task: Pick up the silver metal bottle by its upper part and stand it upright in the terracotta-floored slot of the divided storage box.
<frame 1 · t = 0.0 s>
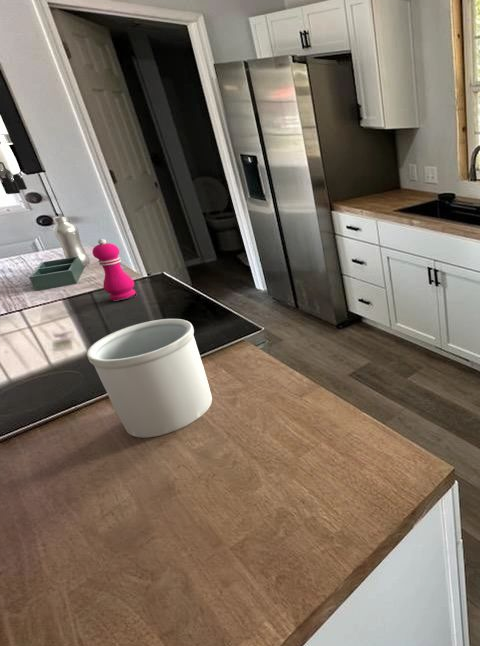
hand: (17, 191, 144), 31 cm above the worktop, tool pointing down, fingers open, 9 cm apart
divided storage box: (61, 279, 150), on the worktop
utensil holder: (172, 414, 82), on the worktop
pepper mill: (124, 298, 134), on the worktop
silver metal bottle: (80, 267, 162), on the worktop
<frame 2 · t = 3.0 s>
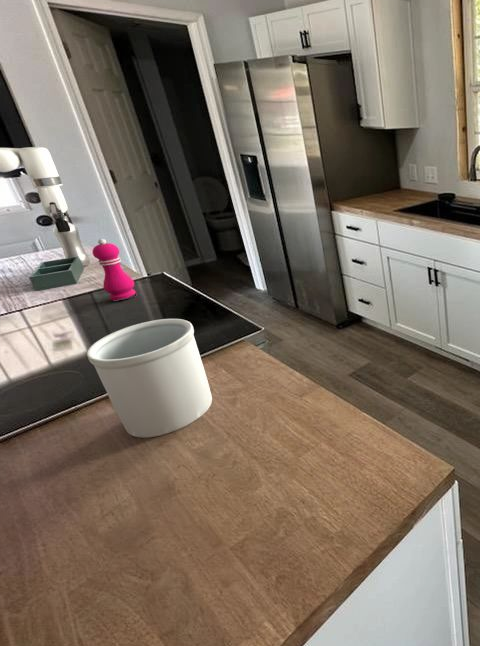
hand: (66, 229, 157), 15 cm above the worktop, tool pointing down, fingers closed on silver metal bottle, 6 cm apart
silver metal bottle: (80, 266, 162), on the worktop, touching gripper
everything else where it was.
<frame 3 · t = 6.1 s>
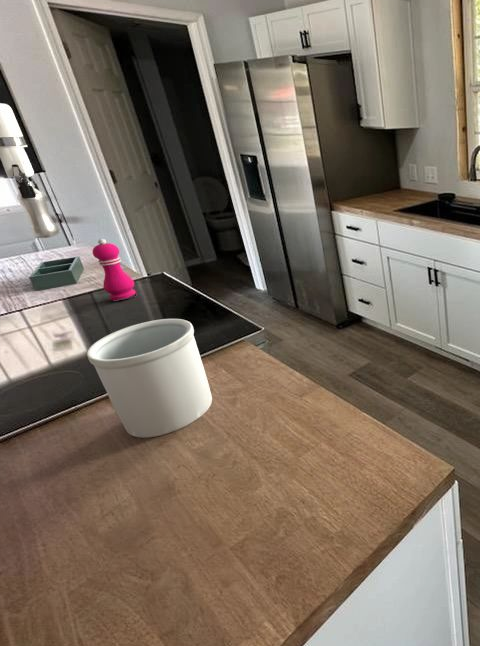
hand: (32, 195, 143), 29 cm above the worktop, tool pointing down, fingers closed on silver metal bottle, 6 cm apart
silver metal bottle: (48, 238, 149), point 14 cm above the worktop, touching gripper
everything else where it was.
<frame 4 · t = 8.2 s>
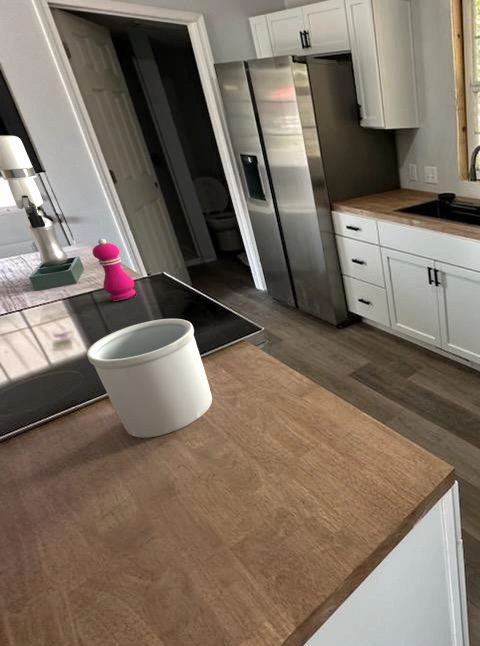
hand: (41, 224, 146), 19 cm above the worktop, tool pointing down, fingers closed on silver metal bottle, 6 cm apart
silver metal bottle: (57, 265, 151), point 4 cm above the worktop, touching gripper
everything else where it was.
when the fingers open (16 cm above the worktop, at t = 9.7 s): silver metal bottle stays where it is, resting on divided storage box.
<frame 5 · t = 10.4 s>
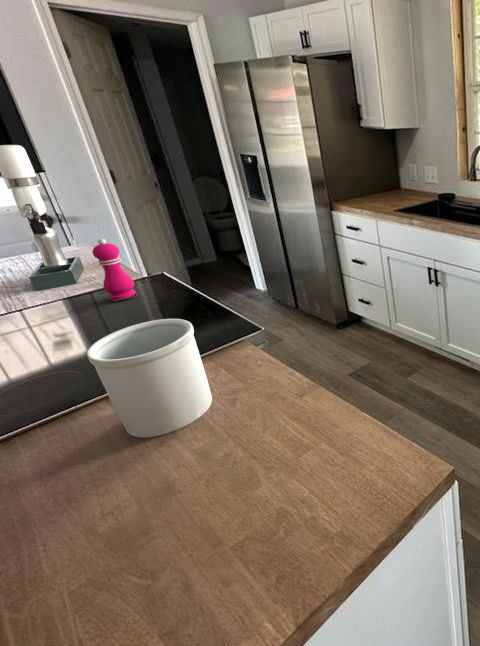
hand: (43, 231, 147), 17 cm above the worktop, tool pointing down, fingers open, 9 cm apart
silver metal bottle: (61, 274, 152), point 1 cm above the worktop, touching divided storage box
everything else where it was.
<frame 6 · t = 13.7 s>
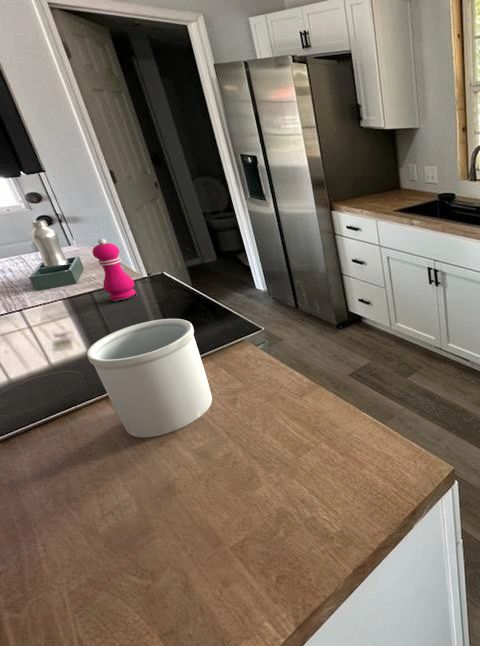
nothing on the worktop moved.
at the end: silver metal bottle 0.5 cm from the target spot in the divided storage box, point 0.6 cm above the divided storage box's base; silver metal bottle tilted 0°; the gripper is holding nothing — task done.
